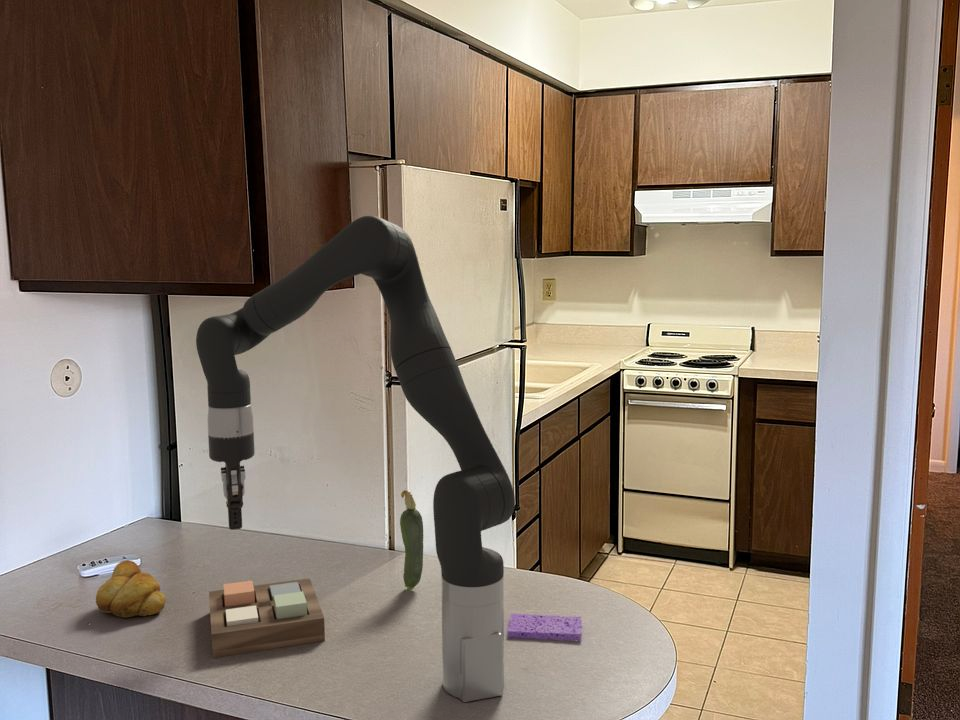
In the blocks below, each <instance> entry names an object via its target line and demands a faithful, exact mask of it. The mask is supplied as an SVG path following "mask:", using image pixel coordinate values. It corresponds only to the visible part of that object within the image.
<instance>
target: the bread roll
mask: <svg viewBox="0 0 960 720" xmlns="http://www.w3.org/2000/svg"><path fill="white" fill-rule="evenodd" d="M95 603H96V607H98V609H99V610H100V611H101V612H103V613H106V614H108V613H109V614H113V615H114V616H117V617H120V618H130V617H131V618H132V617H135V616H138V615H139V617H140V616H141V617H148V616H152V615H155V614H158V613H160V612H161V611H163V610H164V609H165V604H166V595H165V594H164V592H161V585H160V583H159V582H158V580H157V579H156V578H155V577H154V576H152V575H151V574H150V573H147V572H143V571H142V569H141V567H140V566H139V565H138V564H137V563H136V562H135V561H134V560H133V561H132V560H128V559H127V560H122V561H120V562H119V563H118V564H116V566H115V567H114V569H113V570H112V574H111V577H110V578H108V579H107V580H106V581H105V582H104V583H102V584H101V585H100V586H99V587H98V590H97V592H96V595H95ZM147 615H148V616H147Z"/></svg>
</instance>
